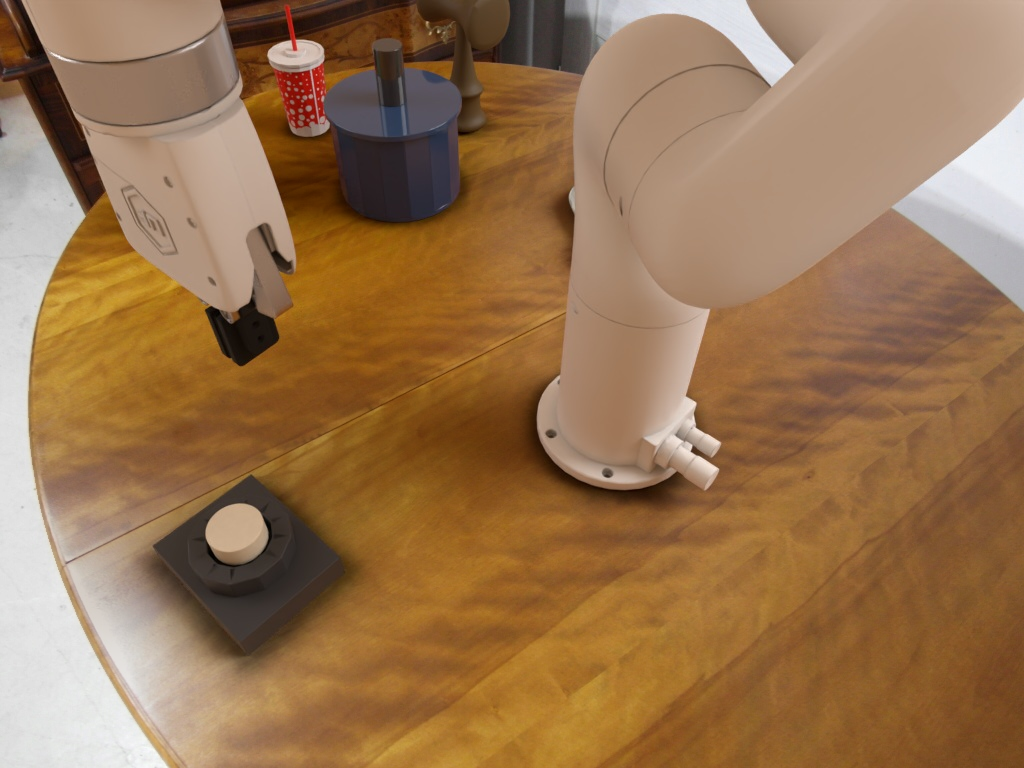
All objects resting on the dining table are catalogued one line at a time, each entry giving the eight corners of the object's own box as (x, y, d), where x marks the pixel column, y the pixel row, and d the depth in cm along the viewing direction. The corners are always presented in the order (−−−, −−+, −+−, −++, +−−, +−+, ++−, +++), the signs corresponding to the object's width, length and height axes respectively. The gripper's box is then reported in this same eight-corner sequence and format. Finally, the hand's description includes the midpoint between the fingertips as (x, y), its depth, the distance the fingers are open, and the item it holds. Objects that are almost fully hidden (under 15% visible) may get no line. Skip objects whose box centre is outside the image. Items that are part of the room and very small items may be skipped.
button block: (345, 572, 54) (336, 543, 51) (248, 656, 49) (232, 630, 46) (258, 490, 58) (245, 459, 55) (162, 561, 54) (142, 531, 51)
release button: (280, 539, 51) (274, 525, 50) (233, 576, 49) (226, 562, 48) (247, 507, 53) (241, 493, 51) (201, 542, 51) (193, 528, 50)
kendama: (473, 150, 89) (469, -36, 74) (420, 117, 94) (406, -64, 79) (511, 131, 92) (514, -51, 77) (457, 100, 96) (451, -77, 81)
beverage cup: (319, 108, 95) (298, -12, 84) (346, 128, 92) (327, 7, 81) (274, 124, 92) (246, 2, 82) (300, 146, 89) (274, 22, 79)
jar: (483, 185, 84) (482, 104, 77) (398, 238, 78) (388, 155, 71) (404, 142, 90) (397, 63, 83) (319, 188, 84) (302, 106, 76)
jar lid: (490, 109, 78) (489, 43, 73) (389, 164, 71) (381, 96, 66) (397, 65, 84) (391, 1, 79) (296, 112, 77) (282, 45, 72)
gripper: (-14, 45, 36) (132, 327, 50) (175, 159, 30) (282, 446, 43) (129, -7, 40) (228, 268, 54) (323, 84, 34) (379, 370, 47)
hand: (252, 347), depth 48 cm, fingers closed
